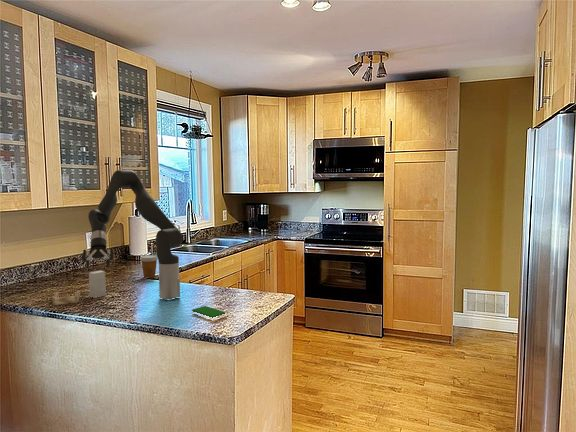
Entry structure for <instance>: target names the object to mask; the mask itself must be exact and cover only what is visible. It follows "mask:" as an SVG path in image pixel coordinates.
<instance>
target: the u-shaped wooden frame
mask: <svg viewBox="0 0 576 432" xmlns="http://www.w3.org/2000/svg"><path fill="white" fill-rule="evenodd" d="M59 296H60V294H59V291H56V292H55V293H54V295H53V297H52V300H51V301H52V305H53V306H58V305H69V303H70V304H79V303H78V302H79V300H80V298H79V297H81V290H80V289H79V290H77V291H76V293H75V295H72V296H71V295H70V296H61V297H59Z"/></svg>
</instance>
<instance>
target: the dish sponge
mask: <svg viewBox="0 0 576 432" xmlns="http://www.w3.org/2000/svg"><path fill="white" fill-rule="evenodd" d="M192 311H193V312H197V313H200V314H203V315H206V316H209V317H212V318H213V317H216V316H219V315H222V314H225V313H226V314H227V312H225V311H223V310H219V309H216V308H213V307H210V306H207V305H202V306H200V307H196V308H193V309H191V312H192Z"/></svg>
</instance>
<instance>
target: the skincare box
mask: <svg viewBox="0 0 576 432" xmlns="http://www.w3.org/2000/svg"><path fill="white" fill-rule="evenodd" d="M88 282H89V283H88V284H89V297H90V298H92V297H93V299H97V297H98V298H100V297H104V296H107V289H106V288H107V287H106V272H105V270H94V271H91V272H88Z"/></svg>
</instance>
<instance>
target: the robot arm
mask: <svg viewBox="0 0 576 432" xmlns="http://www.w3.org/2000/svg"><path fill="white" fill-rule="evenodd" d="M120 189H130V190H132V192H133V193H134V195H135V200H134V205H135V206H134V207H135V208H136V211H137V212H138V213H139V214H140V215H141V217H142V218H143V219H144V220H145V221H147V222H148V223H150V224H152V225H154V226H156V227H157V228H159V230H158V231H157V233H156V235H155V248H156V256H157V258H158V259H157V261H158V287H159V288H158V289H159V290H158V291H159V292H158V293H159V294H158V296H159V297H160V298H162V299H172V298H176V297H180V298H181V282H180V281H181V279H180V262H179V261H180V258H179V255H176V254H173V253H172V250H171V249H174V248H178V247H181V245H182V243H183V241H184V240H183V235H182V233H181V231H180V229H178V227H177V226H176V225H175V224H174V223H173V221H171V220H170V219H169V218H168V217H167V215H166V214H165V213H164V212H163V210H162V209H161V208H160V206H159V205H158V203H157V202H156V201H155V199H154V198H153V197H152V196H151V194H150V193H149V191H148V190H147V189H146V187H145V186H144V184H143V182H142V181H141V179H140V177H139V176H138V174H137V172H135V171H134V170H132V169H116V170H115V171H114V172H113V174H112V176H111V178H110V181H109V184H108V186H107V189H106V192H105V194H104V196H103V197H102V199H101V200H100V202H99V204H98V206H97V208H98V209H96V208H94V209H91V210H90V211H89V213H88V222H89V224H90V227H91V235H90V248H89V250H87V249H83V250H82V262H83V263H85V265H86V267H85V268H87V269H88V270H90V265H91V264H90V263H91V261H93V260H94V259H96V260H97V259H102V258H103V260H105V261H106V269H107V268H109V267H110V266H111V265H110V264H111V261H114V257H115V256H114V249H113V248H109V249H108V248H107V246H108V245H107V243H108V242H107V241H108V240H107V239H108V238H107V226H106V225H107V224H108V223H109V222H110V218H111V214H112V211H113V209H114V208H115V207H116V205H117V202H118V196H117V192H118V191H119V190H120ZM108 254H109V255H110V256H108ZM88 255H89V256H88ZM87 256H88V257H87Z"/></svg>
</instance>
